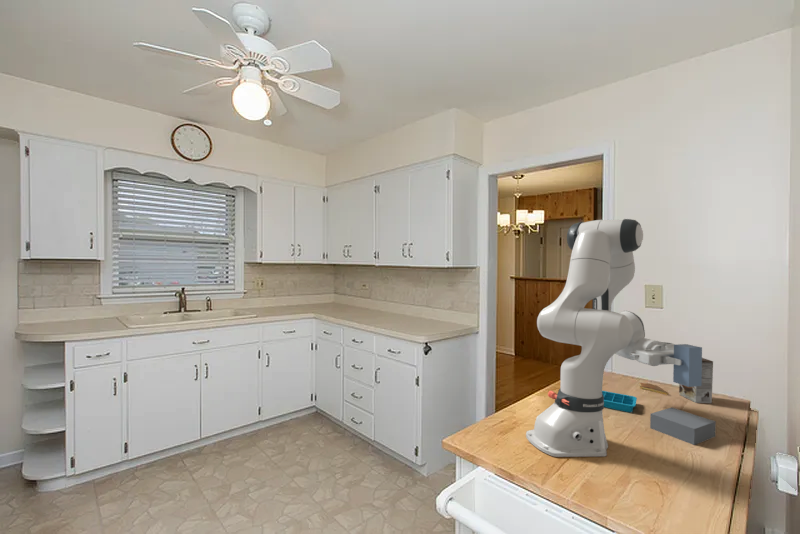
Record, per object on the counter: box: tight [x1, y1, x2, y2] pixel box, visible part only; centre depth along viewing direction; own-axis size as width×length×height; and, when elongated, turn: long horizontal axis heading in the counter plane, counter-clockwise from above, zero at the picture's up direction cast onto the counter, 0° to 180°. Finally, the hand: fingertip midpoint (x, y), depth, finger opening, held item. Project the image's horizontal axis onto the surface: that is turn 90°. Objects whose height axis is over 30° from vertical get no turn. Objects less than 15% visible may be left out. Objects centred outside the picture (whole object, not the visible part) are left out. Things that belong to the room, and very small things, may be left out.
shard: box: [637, 382, 669, 396], centre depth 153 cm, size 11×8×2 cm
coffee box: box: [678, 357, 714, 404], centre depth 143 cm, size 9×6×16 cm
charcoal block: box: [649, 406, 717, 446], centre depth 114 cm, size 12×12×5 cm
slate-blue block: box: [672, 343, 703, 387], centre depth 117 cm, size 5×5×12 cm
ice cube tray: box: [602, 390, 638, 413], centre depth 139 cm, size 12×20×3 cm, turn 55°
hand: (690, 362), depth 116 cm, fingers closed on slate-blue block, 5 cm apart
